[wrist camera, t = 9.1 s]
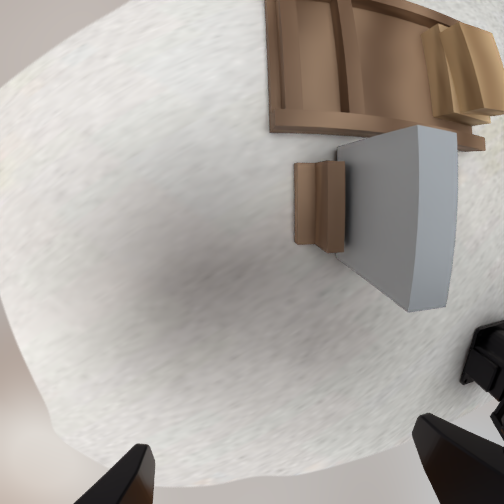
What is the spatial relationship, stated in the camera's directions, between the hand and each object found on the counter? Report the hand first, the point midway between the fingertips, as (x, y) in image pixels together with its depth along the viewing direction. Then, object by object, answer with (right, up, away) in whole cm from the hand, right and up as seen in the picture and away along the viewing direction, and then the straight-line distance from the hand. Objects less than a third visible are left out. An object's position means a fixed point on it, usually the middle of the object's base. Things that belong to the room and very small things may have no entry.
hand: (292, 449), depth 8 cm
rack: (+8, +19, +10) cm, 23 cm away
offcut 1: (+14, +19, +9) cm, 25 cm away
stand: (+5, +9, +12) cm, 16 cm away
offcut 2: (+14, +18, +7) cm, 24 cm away
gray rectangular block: (+5, +9, +11) cm, 15 cm away
